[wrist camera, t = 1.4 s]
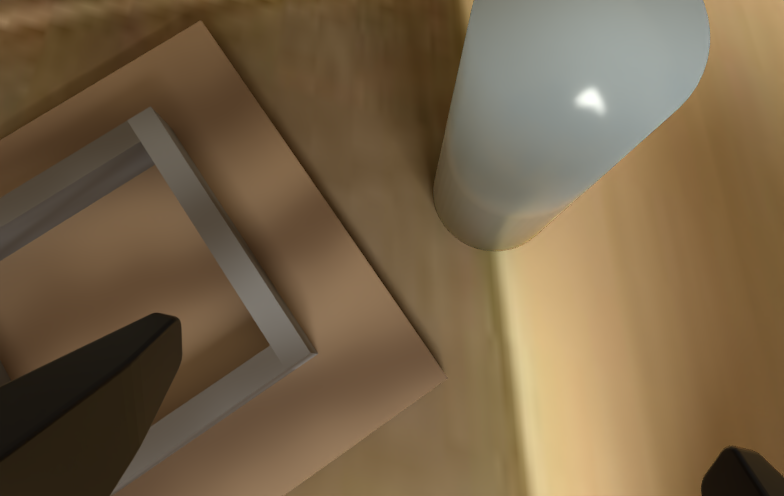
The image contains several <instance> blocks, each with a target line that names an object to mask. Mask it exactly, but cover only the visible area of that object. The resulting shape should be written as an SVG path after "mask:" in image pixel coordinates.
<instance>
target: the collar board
mask: <svg viewBox="0 0 784 496" xmlns="http://www.w3.org/2000/svg"><path fill="white" fill-rule="evenodd" d="M155 312H158V313H163V314H168V315H172V316H176V317H178V318H179V319H180V321H181V327H182V351H183V354H182V361H181V364H180V367H179V369H178V371H177V373H176V376H175V378H174V380H173V382H172V384H171V386H170V388H169V390H168V392H167V394H166V396H165V398H164V400H163V402H162V404H161V406H160V408H159V410H158V412H157V414H156V417H155V419H154V421H153V423H152V425H151V427H150V429H149V431H148V433H147V435H146V437H145V439H144V441H143V443H142V445H141V447H140V448H139V450H138V452H137V453H136V455H135V457H134V458H133V460H132V462H131V463H130V465H129V467H128V468H127V470H126V471H125V473H124V474H123V476H122V478H121V479H120V481H119V482H118V484H117V486H116V487H115V489H114V490H113V492H112V493H111V495H110V496H284V495H285V494H287V493H288V492H290V491H291V490H292V489H294V488H295V487H297V486H298V485H299V484H301V483H302V482H304V481H305V480H306V479H308V478H309V477H311V476H312V475H313V474H315V473H316V472H318V471H319V470H320V469H322V468H323V467H325V466H326V465H327V464H329V463H330V462H332V461H333V460H334V459H336V458H337V457H339V456H340V455H341V454H343V453H344V452H346V451H347V450H348V449H350V448H351V447H353V446H354V445H355V444H357V443H358V442H360V441H361V440H362V439H364V438H365V437H367V436H368V435H369V434H371V433H372V432H374V431H375V430H376V429H378V428H379V427H381V426H382V425H383V424H385V423H386V422H388V421H389V420H390V419H392V418H393V417H395V416H396V415H397V414H399V413H400V412H402V411H403V410H404V409H406V408H407V407H409V406H410V405H411V404H413V403H414V402H416V401H417V400H418V399H420V398H421V397H423V396H424V395H425V394H427V393H428V392H430V391H431V390H432V389H434V388H435V387H437V386H438V385H439V384H441V383H442V382H444V381H445V380H446V379H448V377H447V376H446V375H445V373H444V372H443V370H442V369H441V367H440V366H439V364H438V363H437V362H436V360H435V359H434V357H433V356H432V354H431V353H430V351H429V350H428V348H427V347H426V346H425V344H424V343H423V341H422V340H421V338H420V337H419V335H418V334H417V333H416V331H415V330H414V328H413V327H412V325H411V324H410V322H409V321H408V319H407V318H406V317H405V315H404V314H403V312H402V311H401V309H400V308H399V306H398V305H397V304H396V302H395V301H394V299H393V298H392V296H391V295H390V293H389V292H388V290H387V289H386V288H385V286H384V285H383V283H382V282H381V280H380V279H379V277H378V276H377V275H376V273H375V272H374V270H373V269H372V267H371V266H370V264H369V263H368V261H367V260H366V259H365V257H364V256H363V254H362V253H361V251H360V250H359V248H358V247H357V246H356V244H355V243H354V241H353V240H352V238H351V237H350V235H349V234H348V232H347V231H346V230H345V228H344V227H343V225H342V224H341V222H340V221H339V219H338V218H337V217H336V215H335V214H334V212H333V211H332V209H331V208H330V206H329V205H328V203H327V202H326V201H325V199H324V198H323V196H322V195H321V193H320V192H319V190H318V189H317V188H316V186H315V185H314V183H313V182H312V180H311V179H310V177H309V176H308V174H307V173H306V172H305V170H304V169H303V167H302V166H301V164H300V163H299V161H298V160H297V159H296V157H295V156H294V154H293V153H292V151H291V150H290V148H289V147H288V145H287V144H286V143H285V141H284V140H283V138H282V137H281V135H280V134H279V132H278V131H277V130H276V128H275V127H274V125H273V124H272V122H271V121H270V119H269V118H268V116H267V115H266V114H265V112H264V111H263V109H262V108H261V106H260V105H259V103H258V102H257V101H256V99H255V98H254V96H253V95H252V93H251V92H250V90H249V89H248V87H247V86H246V85H245V83H244V82H243V80H242V79H241V77H240V76H239V74H238V73H237V71H236V70H235V69H234V67H233V66H232V64H231V63H230V61H229V60H228V58H227V57H226V56H225V54H224V53H223V51H222V50H221V48H220V47H219V45H218V44H217V42H216V41H215V40H214V38H213V37H212V35H211V34H210V32H209V31H208V29H207V28H206V27H205V25H204V24H203V22H202V21H201V20H200V21H199V22H197V23H195V24H193V25H192V26H190V27H188V28H187V29H185V30H183V31H182V32H180V33H178V34H177V35H175V36H173V37H172V38H170V39H168V40H167V41H165V42H163V43H162V44H160V45H158V46H157V47H155V48H153V49H152V50H150V51H148V52H147V53H145V54H143V55H142V56H140V57H138V58H137V59H135V60H133V61H132V62H130V63H128V64H127V65H125V66H123V67H121V68H120V69H118V70H116V71H115V72H113V73H111V74H110V75H108V76H106V77H105V78H103V79H101V80H100V81H98V82H96V83H95V84H93V85H91V86H90V87H88V88H86V89H85V90H83V91H81V92H80V93H78V94H76V95H75V96H73V97H71V98H70V99H68V100H66V101H65V102H63V103H61V104H60V105H58V106H56V107H55V108H53V109H51V110H49V111H48V112H46V113H44V114H43V115H41V116H39V117H38V118H36V119H34V120H33V121H31V122H29V123H28V124H26V125H24V126H23V127H21V128H19V129H18V130H16V131H14V132H13V133H11V134H9V135H8V136H6V137H4V138H3V139H1V140H0V386H2V385H4V384H6V383H8V382H10V381H12V380H14V379H16V378H18V377H20V376H22V375H24V374H27V373H29V372H31V371H33V370H35V369H37V368H39V367H41V366H43V365H45V364H47V363H49V362H52V361H54V360H56V359H58V358H60V357H62V356H64V355H66V354H68V353H70V352H72V351H74V350H77V349H79V348H81V347H83V346H85V345H87V344H89V343H91V342H93V341H95V340H97V339H99V338H102V337H104V336H106V335H108V334H110V333H112V332H114V331H116V330H118V329H120V328H122V327H124V326H127V325H129V324H131V323H133V322H135V321H137V320H139V319H141V318H143V317H145V316H147V315H149V314H152V313H155Z"/></svg>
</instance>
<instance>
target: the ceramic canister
mask: <svg viewBox="0 0 784 496" xmlns="http://www.w3.org/2000/svg"><path fill="white" fill-rule="evenodd" d="M709 48H710V28H709V20H708V15H707V12H706V8H705V4H704V2H703V0H474V1H473V5H472V10H471V14H470V19H469V23H468V28H467V33H466V37H465V42H464V46H463V51H462V55H461V60H460V65H459V69H458V74H457V78H456V83H455V88H454V92H453V97H452V101H451V106H450V110H449V115H448V120H447V124H446V129H445V133H444V138H443V142H442V147H441V152H440V156H439V161H438V165H437V170H436V174H435V179H434V185H433V198H434V204H435V208H436V211H437V213H438V216H439V218H440V220H441V221H442V223H443V224H444V226H445V227H446V228H447V229H448V231H449V232H450V233H451V234H452V235H453V236H455V237H456V238H457V239H459V240H460V241H461V242H463V243H465V244H467V245H469V246H471V247H474V248H477V249H481V250H485V251H505V250H510V249H513V248H516V247H519V246H521V245H523V244H525V243H527V242H528V241H530V240H531V239H532V238H534V237H535V236H536V235H537V234H538V233H539V232H541V231H542V230H543V229H544V228H545V227H546V226H547V225H548V224H550V223H551V222H552V221H553V220H554V219H555V218H556V217H557V216H558V215H560V214H561V213H562V212H563V211H564V210H565V209H566V208H567V207H569V206H570V205H571V204H572V203H573V202H574V201H575V200H576V199H578V198H579V197H580V196H581V195H582V194H583V193H584V192H585V191H587V190H588V189H589V188H590V187H591V186H592V185H593V184H594V183H596V182H597V181H598V180H599V179H600V178H601V177H602V176H603V175H605V174H606V173H607V172H608V171H609V170H610V169H611V168H612V167H614V166H615V165H616V164H617V163H618V162H619V161H620V160H621V159H622V158H624V157H625V156H626V155H627V154H628V153H629V152H630V151H631V150H633V149H634V148H635V147H636V146H637V145H638V144H639V143H640V142H642V141H643V140H644V139H645V138H646V137H647V136H648V135H649V134H651V133H652V132H653V131H654V130H655V129H656V128H657V127H658V126H660V125H661V124H662V123H663V122H664V121H665V120H666V119H667V118H669V117H670V116H671V115H672V114H673V113H674V112H675V111H676V110H678V109H679V108H680V107H681V105H682V104H683V103H684V102H685V101H686V100H687V99H688V98H689V97H690V95H691V94H692V92H693V91H694V89H695V88H696V87H697V85H698V83H699V81H700V79H701V77H702V75H703V72H704V69H705V66H706V63H707V60H708V54H709Z"/></svg>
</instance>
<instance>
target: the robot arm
mask: <svg viewBox="0 0 784 496" xmlns="http://www.w3.org/2000/svg"><path fill="white" fill-rule="evenodd" d="M182 354H183V351H182V327H181V321H180V319H179V318H178V317H176V316H172V315H168V314H163V313H158V312H155V313H152V314H149V315H147V316H145V317H143V318H141V319H139V320H137V321H135V322H133V323H131V324H129V325H127V326H124V327H122V328H120V329H118V330H116V331H114V332H112V333H110V334H108V335H106V336H104V337H102V338H99V339H97V340H95V341H93V342H91V343H89V344H87V345H85V346H83V347H81V348H79V349H77V350H74V351H72V352H70V353H68V354H66V355H64V356H62V357H60V358H58V359H56V360H54V361H52V362H49V363H47V364H45V365H43V366H41V367H39V368H37V369H35V370H33V371H31V372H29V373H27V374H24V375H22V376H20V377H18V378H16V379H14V380H12V381H10V382H8V383H6V384H4V385H2V386H0V496H110V495H111V493H112V492H113V490H114V489H115V487H116V486H117V484H118V482H119V481H120V479H121V478H122V476H123V474H124V473H125V471H126V470H127V468H128V467H129V465H130V463H131V462H132V460H133V458H134V457H135V455H136V453H137V452H138V450H139V448H140V447H141V445H142V443H143V441H144V439H145V437H146V435H147V433H148V431H149V429H150V427H151V425H152V423H153V421H154V419H155V417H156V414H157V412H158V410H159V408H160V406H161V404H162V402H163V400H164V398H165V396H166V394H167V392H168V390H169V388H170V386H171V384H172V382H173V380H174V378H175V376H176V373H177V371H178V369H179V367H180V364H181V361H182ZM701 494H702V496H784V477H783V476H782V475H781V474H780V473H779V472H778V471H777V470H776V469H775V468H774V467H772V466H771V465H770V464H769V463H768V462H767V461H766V460H765V459H764V458H763V457H762V456H761V455H760V454H759V453H757V452H755V451H753V450H749V449H745V448H740V447H736V446H728V447H726V448H724V449H723V450H722V452H721V453H720V455H719V456H718V457H717V459H716V460H715V462H714V463H713V464H712V466H711V467H710V469H709V470H708V472H707V473H706V474H705V476H704V478H703V481H702V485H701Z"/></svg>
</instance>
